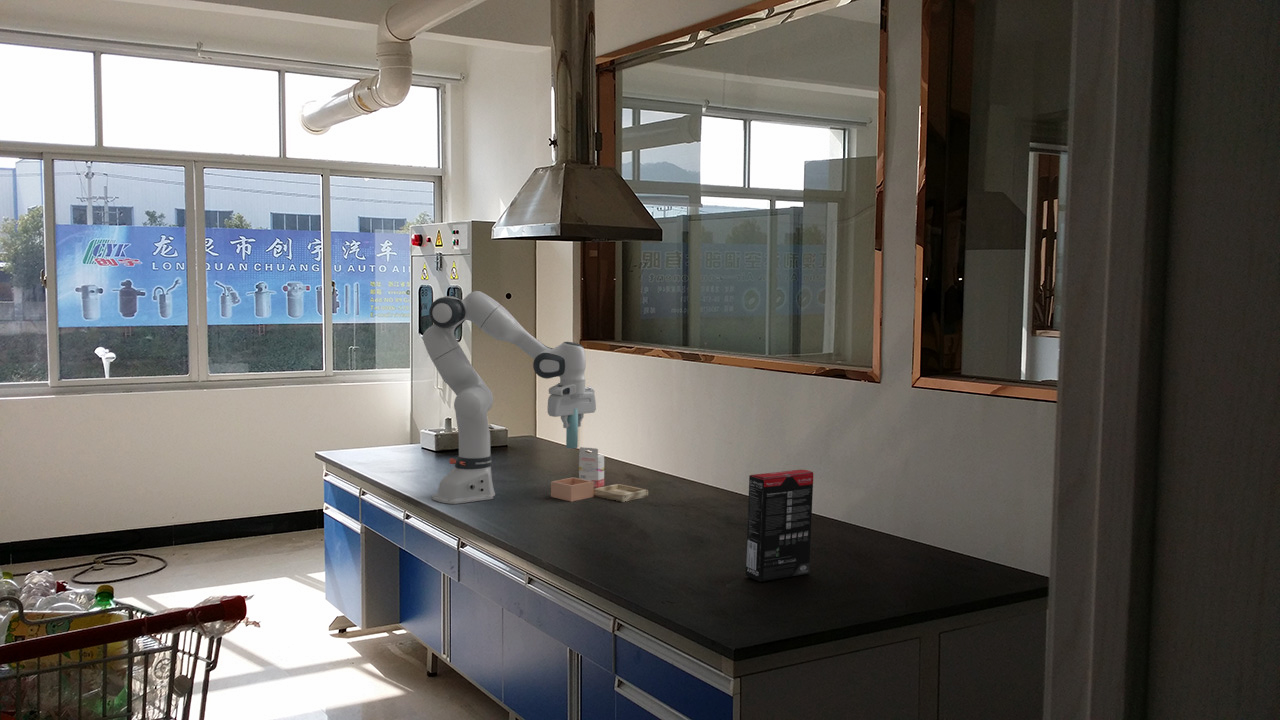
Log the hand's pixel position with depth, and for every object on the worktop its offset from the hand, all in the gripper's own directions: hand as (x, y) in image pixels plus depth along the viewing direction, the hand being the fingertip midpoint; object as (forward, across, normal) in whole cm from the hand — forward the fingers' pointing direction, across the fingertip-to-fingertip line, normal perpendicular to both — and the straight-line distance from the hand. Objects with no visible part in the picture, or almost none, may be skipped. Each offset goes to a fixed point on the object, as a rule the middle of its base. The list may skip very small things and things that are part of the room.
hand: (572, 427), depth 348 cm
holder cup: (+25, 0, 0) cm, 25 cm away
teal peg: (+7, 0, 0) cm, 7 cm away
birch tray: (+25, -13, +11) cm, 30 cm away
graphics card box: (+24, +26, +108) cm, 114 cm away
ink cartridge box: (+25, -18, -9) cm, 32 cm away
